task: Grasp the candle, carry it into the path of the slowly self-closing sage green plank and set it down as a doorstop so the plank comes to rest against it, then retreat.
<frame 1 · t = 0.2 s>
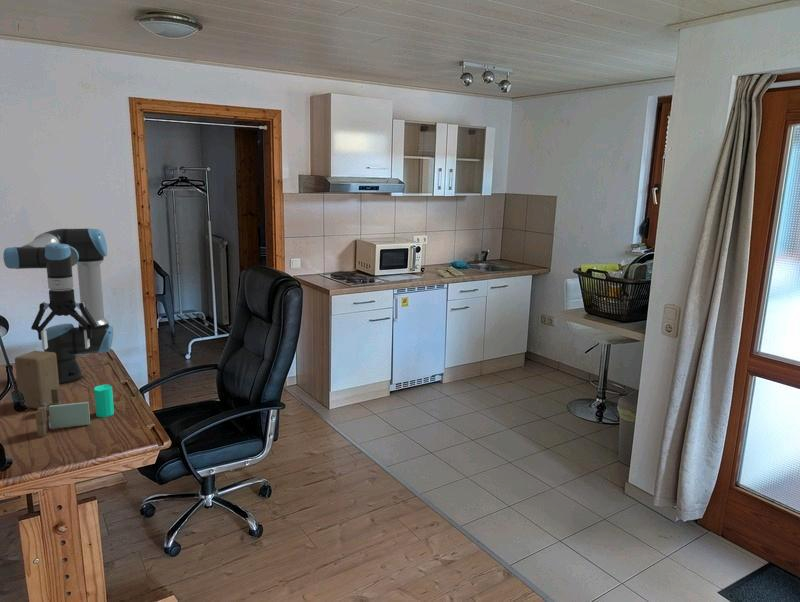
hand: (66, 348, 202), 27 cm above the table, fingers open, 13 cm apart
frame: (46, 429, 199), on the table
sage green plank: (69, 415, 201), point 5 cm above the table, hinge at 86.0°
wooden block: (40, 404, 221), on the table
candle: (105, 414, 214), on the table
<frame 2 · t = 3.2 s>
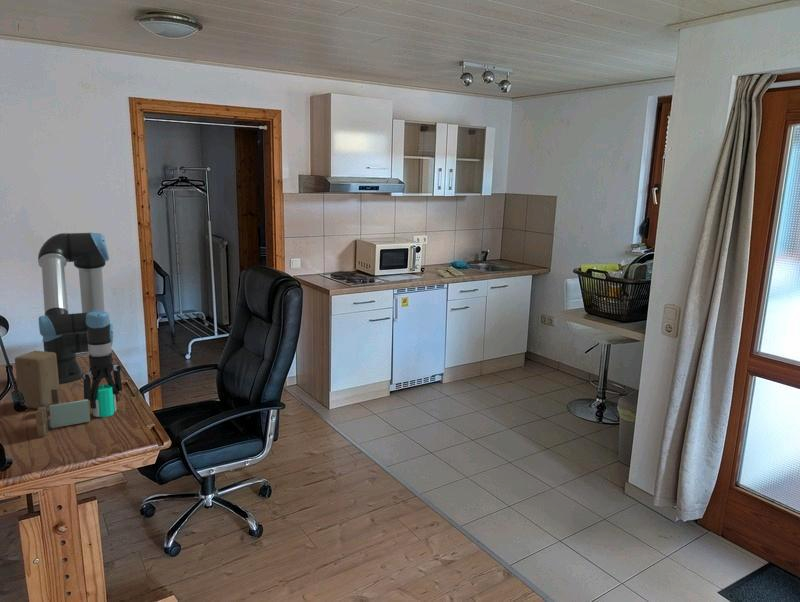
hand: (105, 413, 214), 0 cm above the table, fingers closed on candle, 6 cm apart
sage green plank: (70, 413, 203), point 5 cm above the table, hinge at 75.0°
candle: (105, 414, 214), on the table, touching gripper
everything else where it was.
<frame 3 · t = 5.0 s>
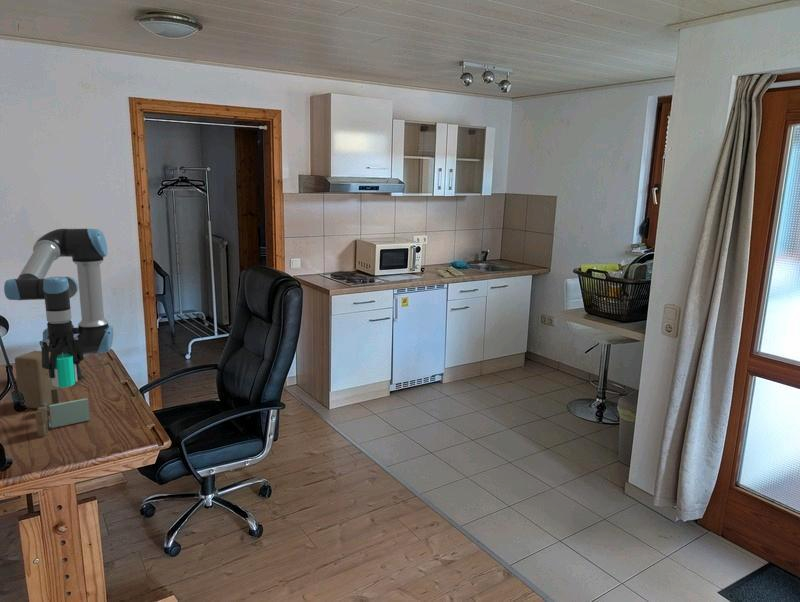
hand: (65, 383, 206), 14 cm above the table, fingers closed on candle, 6 cm apart
sage green plank: (69, 412, 203), point 5 cm above the table, hinge at 69.2°
candle: (65, 384, 206), point 13 cm above the table, touching gripper
everything else where it was.
when the fingers open (2 cm above the table, at t = 7.0 s): candle stays where it is, point 1 cm above the table.
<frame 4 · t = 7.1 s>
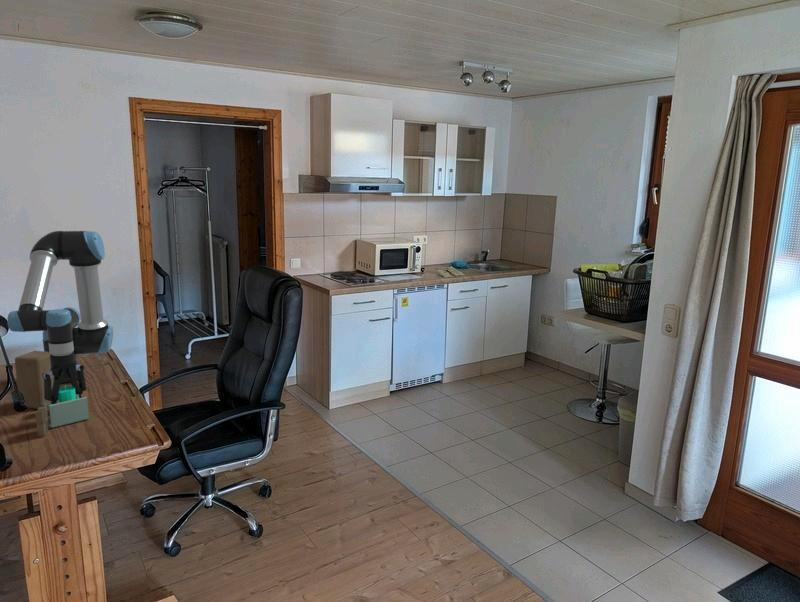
hand: (67, 413, 209), 2 cm above the table, fingers open, 6 cm apart
sage green plank: (69, 412, 204), point 5 cm above the table, hinge at 63.0°
candle: (68, 416, 209), point 1 cm above the table
everything else where it was.
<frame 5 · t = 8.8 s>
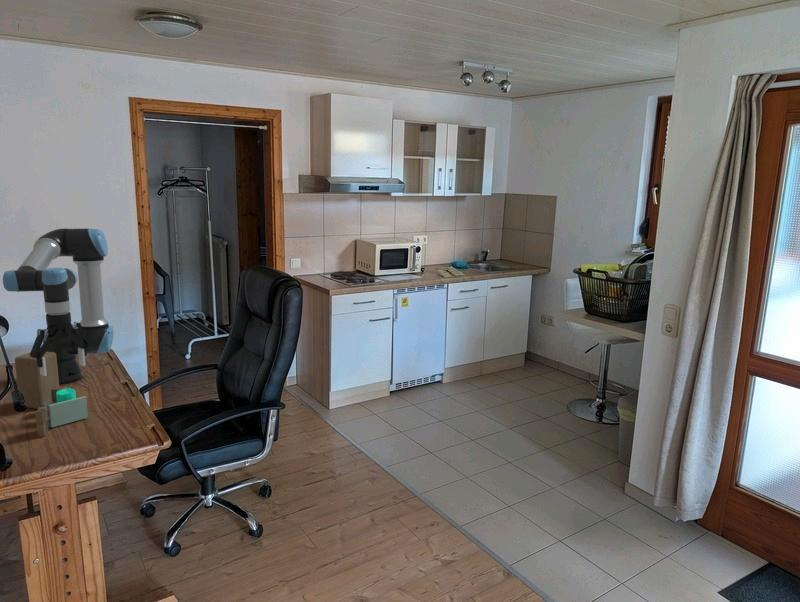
hand: (63, 370, 205), 18 cm above the table, fingers open, 13 cm apart
sage green plank: (68, 411, 204), point 5 cm above the table, hinge at 58.5°
candle: (68, 419, 209), on the table
everything else where it was.
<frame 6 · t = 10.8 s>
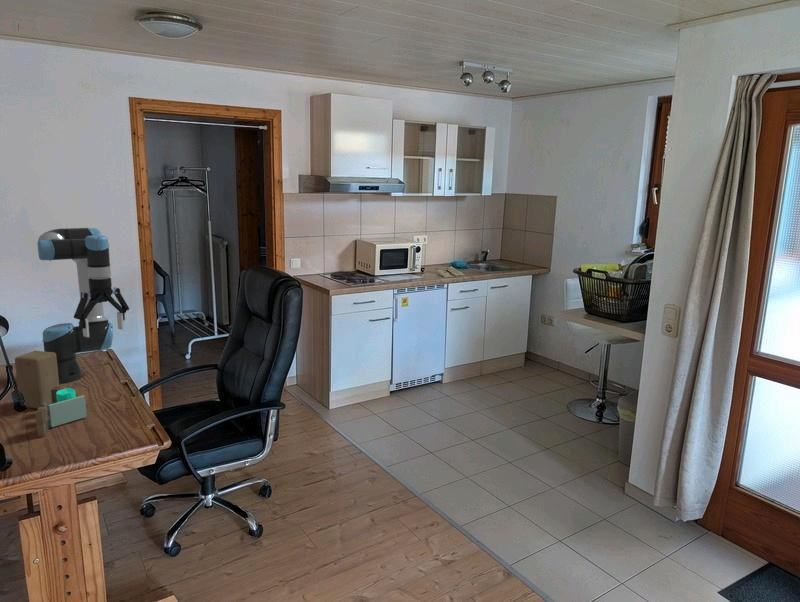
hand: (104, 332, 217), 29 cm above the table, fingers open, 13 cm apart
sage green plank: (67, 411, 205), point 5 cm above the table, hinge at 53.6°
everything else where it was.
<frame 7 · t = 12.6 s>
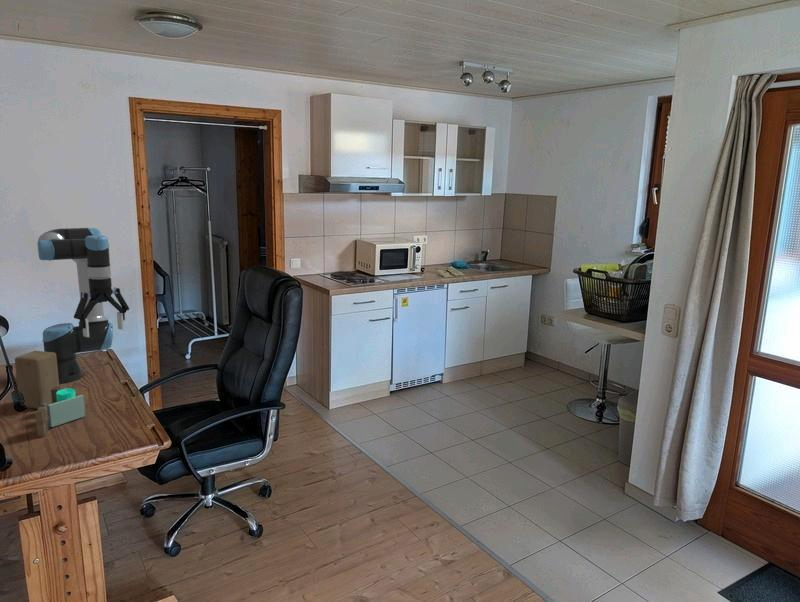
hand: (104, 332, 217), 29 cm above the table, fingers open, 13 cm apart
sage green plank: (67, 410, 205), point 4 cm above the table, hinge at 49.6°
everything else where it was.
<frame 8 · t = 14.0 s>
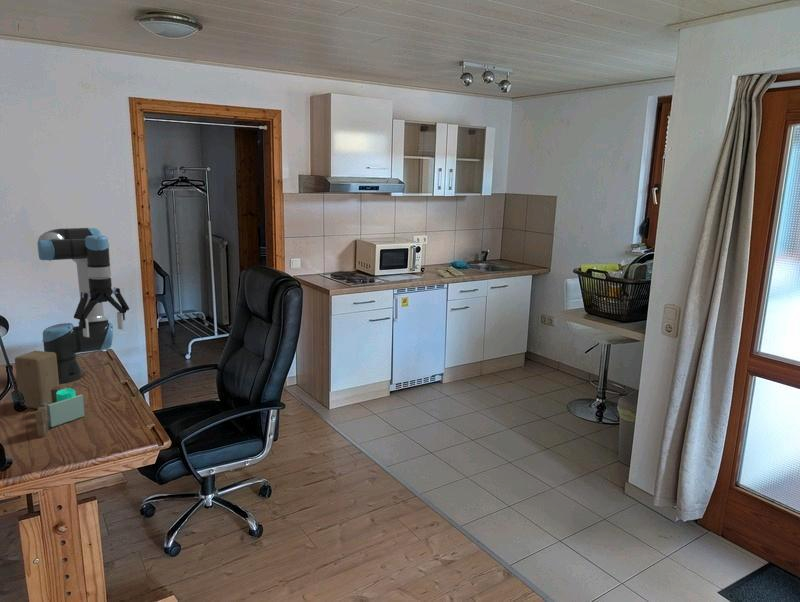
hand: (104, 332, 217), 29 cm above the table, fingers open, 13 cm apart
sage green plank: (66, 410, 205), point 5 cm above the table, hinge at 47.5°, touching candle
candle: (68, 419, 209), on the table, touching sage green plank
everything else where it was.
at the end: candle inside the target area (0.3 cm from its centre), on the table; candle tilted 0°; sage green plank at +48° (first picture: +87°) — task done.
